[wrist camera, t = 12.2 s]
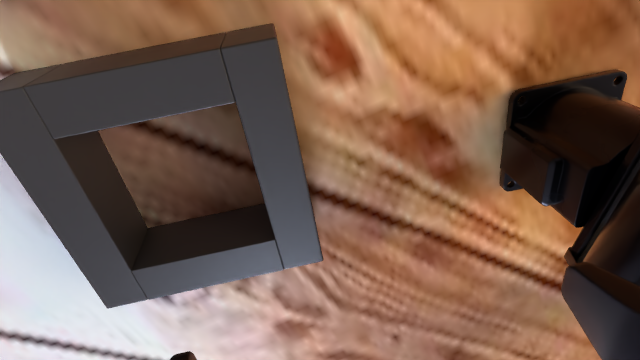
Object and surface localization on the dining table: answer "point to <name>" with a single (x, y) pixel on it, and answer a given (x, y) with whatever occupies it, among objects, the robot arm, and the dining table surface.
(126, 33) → the dining table surface
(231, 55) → the holder
